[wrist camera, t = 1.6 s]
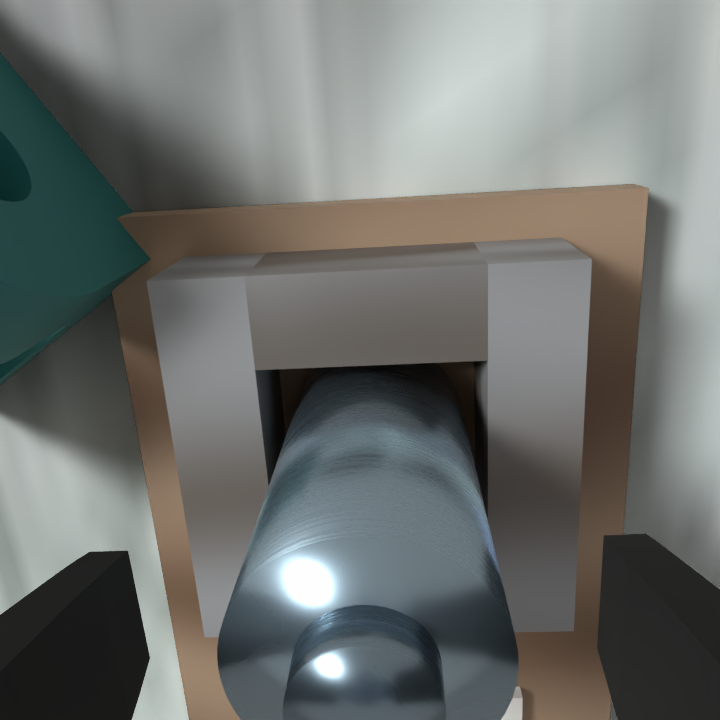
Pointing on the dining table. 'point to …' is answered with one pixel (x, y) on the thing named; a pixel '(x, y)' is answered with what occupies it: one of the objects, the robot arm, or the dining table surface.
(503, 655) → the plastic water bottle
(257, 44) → the dining table surface
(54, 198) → the bracket
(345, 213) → the housing plate
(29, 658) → the robot arm
